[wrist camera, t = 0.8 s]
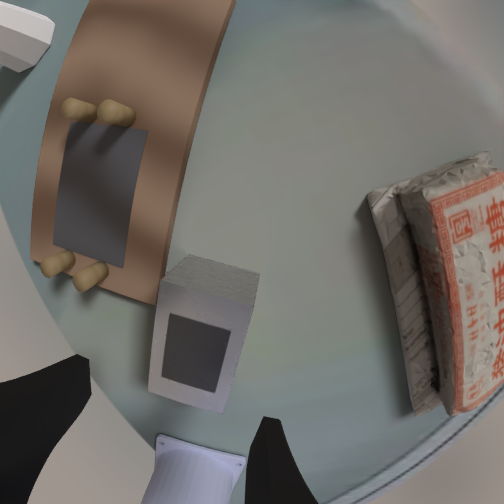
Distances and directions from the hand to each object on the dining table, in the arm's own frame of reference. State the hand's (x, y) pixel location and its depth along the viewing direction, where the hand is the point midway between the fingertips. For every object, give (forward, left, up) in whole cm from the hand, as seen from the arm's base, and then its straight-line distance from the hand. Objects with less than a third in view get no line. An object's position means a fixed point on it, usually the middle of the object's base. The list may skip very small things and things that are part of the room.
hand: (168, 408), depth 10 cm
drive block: (0, 0, -9) cm, 9 cm away
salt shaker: (+17, +20, -9) cm, 28 cm away
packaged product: (+5, -16, -10) cm, 19 cm away
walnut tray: (+10, +9, -9) cm, 16 cm away
